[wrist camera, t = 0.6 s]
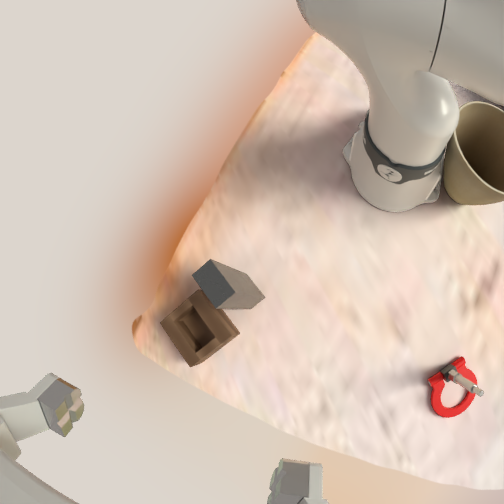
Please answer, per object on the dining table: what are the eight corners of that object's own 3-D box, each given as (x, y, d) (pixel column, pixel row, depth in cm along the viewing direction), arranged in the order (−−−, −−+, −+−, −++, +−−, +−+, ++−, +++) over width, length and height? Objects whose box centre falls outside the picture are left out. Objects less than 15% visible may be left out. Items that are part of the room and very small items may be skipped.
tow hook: (479, 396, 37) (464, 351, 39) (517, 421, 23) (505, 367, 26) (438, 424, 38) (421, 380, 40) (467, 459, 25) (451, 408, 27)
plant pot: (411, 190, 46) (437, 145, 31) (444, 136, 46) (470, 85, 31) (474, 243, 42) (521, 218, 26) (502, 183, 41) (543, 146, 26)
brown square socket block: (208, 291, 52) (198, 289, 48) (240, 333, 49) (231, 335, 45) (172, 322, 53) (160, 322, 48) (201, 363, 50) (190, 367, 46)
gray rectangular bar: (246, 274, 51) (210, 259, 36) (265, 297, 49) (235, 292, 34) (233, 285, 51) (191, 275, 36) (251, 308, 50) (215, 308, 34)
